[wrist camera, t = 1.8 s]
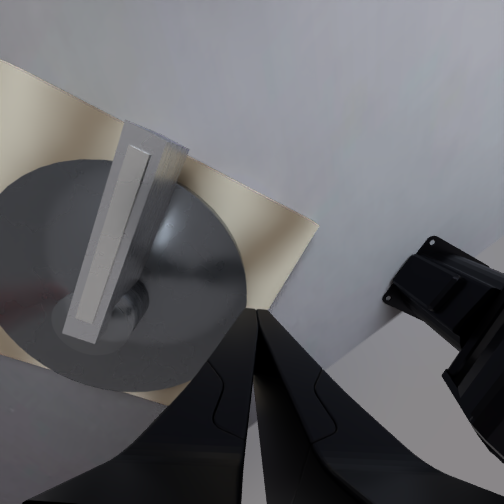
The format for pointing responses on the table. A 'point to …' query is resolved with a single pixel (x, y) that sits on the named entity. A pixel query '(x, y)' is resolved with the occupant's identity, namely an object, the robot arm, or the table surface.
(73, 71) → the table surface
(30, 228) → the dial
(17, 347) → the dial board
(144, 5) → the table surface
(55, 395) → the table surface
